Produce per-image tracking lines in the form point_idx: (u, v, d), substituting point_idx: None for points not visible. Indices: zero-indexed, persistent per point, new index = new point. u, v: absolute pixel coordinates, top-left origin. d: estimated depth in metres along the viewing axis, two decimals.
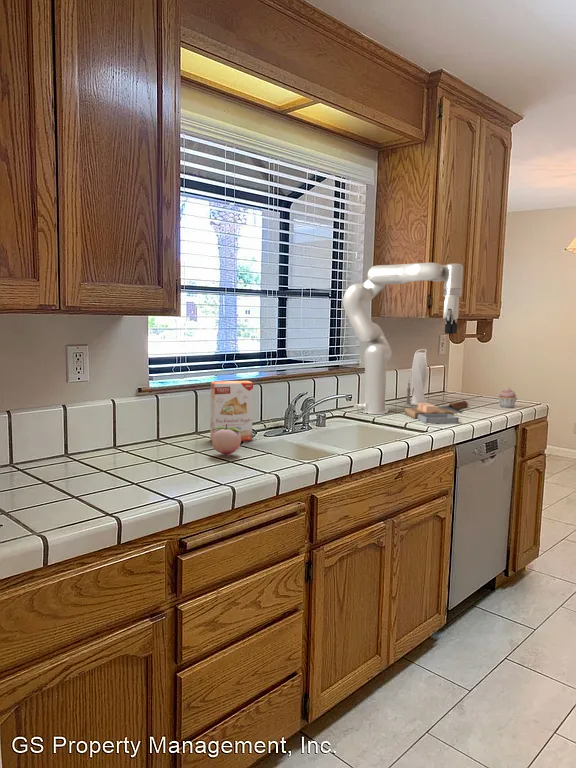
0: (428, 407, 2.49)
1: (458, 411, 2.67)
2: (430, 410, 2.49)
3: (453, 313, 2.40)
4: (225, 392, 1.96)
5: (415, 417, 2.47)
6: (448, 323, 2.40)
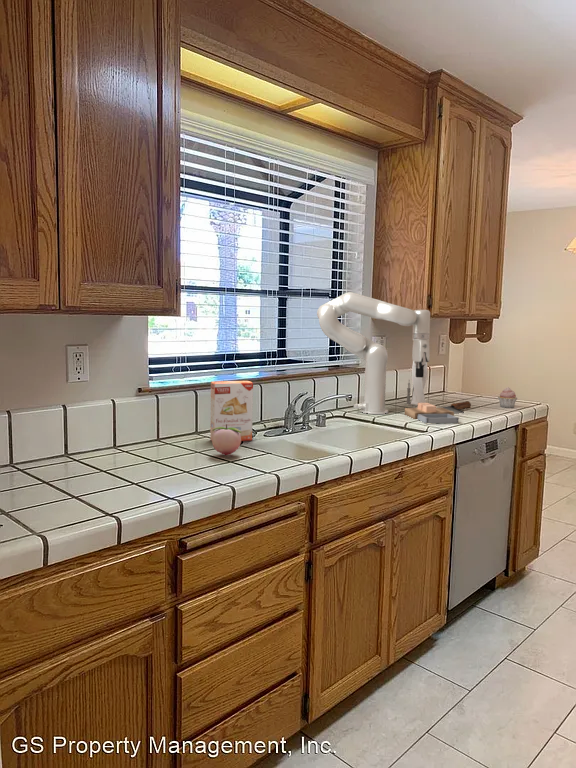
0: (428, 407, 2.49)
1: (460, 411, 2.67)
2: (430, 410, 2.49)
3: None
4: (225, 392, 1.96)
5: (415, 417, 2.47)
6: None
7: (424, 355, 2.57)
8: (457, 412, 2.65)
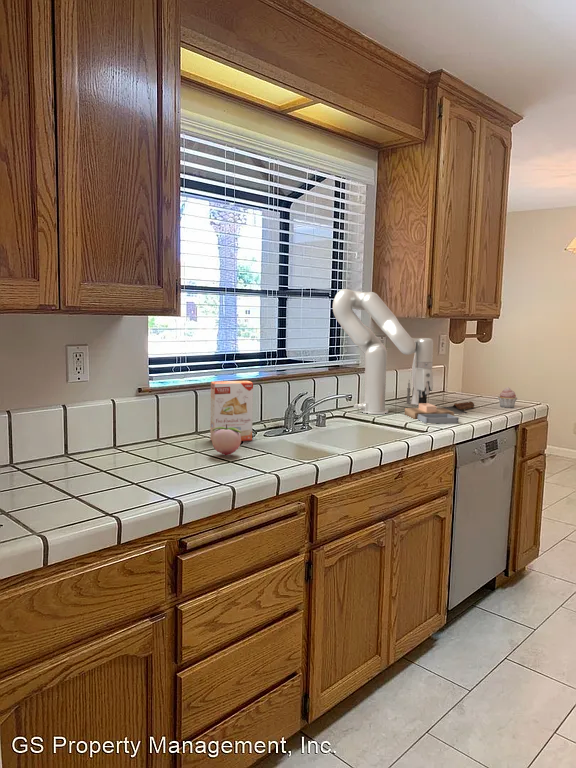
0: (428, 407, 2.49)
1: (461, 411, 2.67)
2: (430, 410, 2.49)
3: None
4: (225, 392, 1.96)
5: (415, 417, 2.47)
6: None
7: (427, 384, 2.54)
8: (458, 412, 2.65)
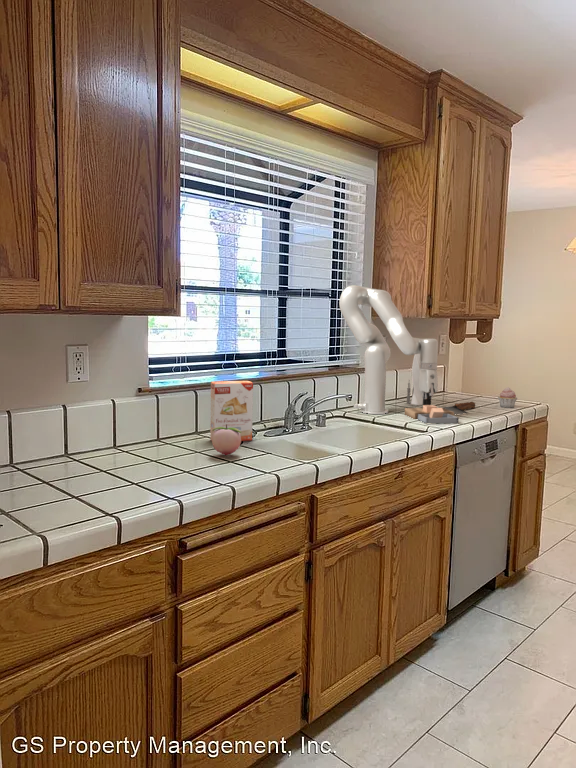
0: None
1: (462, 411, 2.66)
2: None
3: None
4: (225, 392, 1.96)
5: (415, 417, 2.47)
6: None
7: (432, 386, 2.49)
8: (459, 412, 2.65)
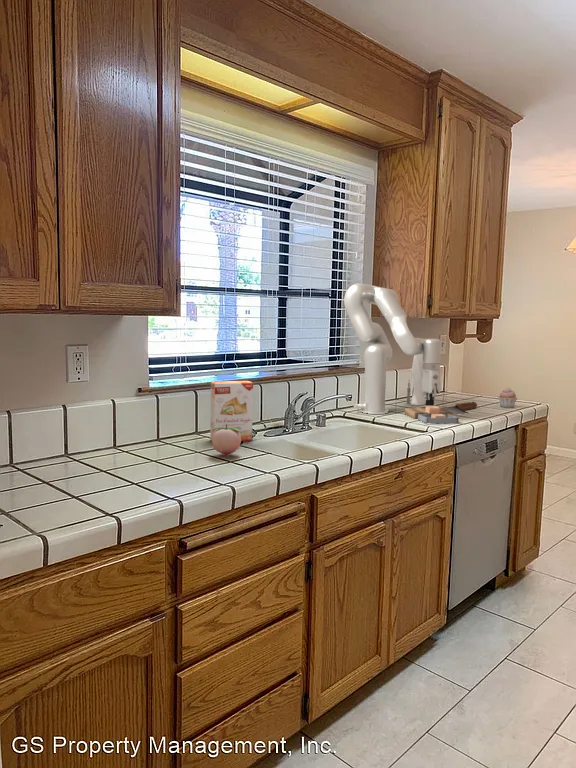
0: None
1: (462, 412, 2.66)
2: None
3: None
4: (225, 392, 1.96)
5: (415, 417, 2.47)
6: None
7: (435, 386, 2.46)
8: (460, 412, 2.64)
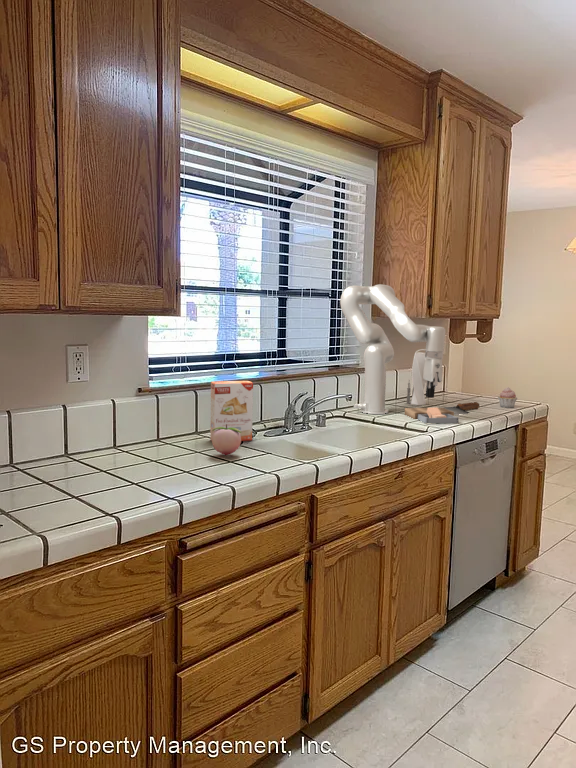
0: None
1: (464, 412, 2.66)
2: None
3: None
4: (225, 392, 1.96)
5: (415, 417, 2.47)
6: None
7: (436, 375, 2.43)
8: (461, 412, 2.64)
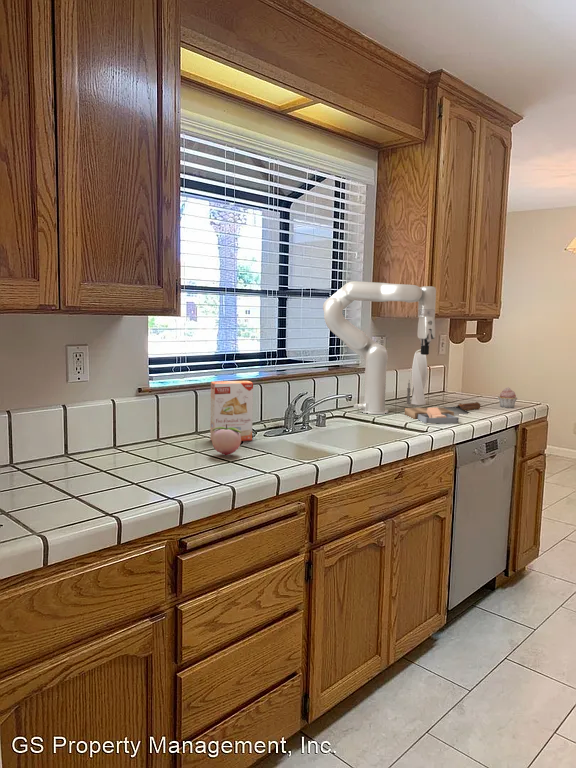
0: None
1: (464, 412, 2.65)
2: None
3: None
4: (225, 392, 1.96)
5: (415, 417, 2.47)
6: None
7: (429, 332, 2.56)
8: (461, 413, 2.64)
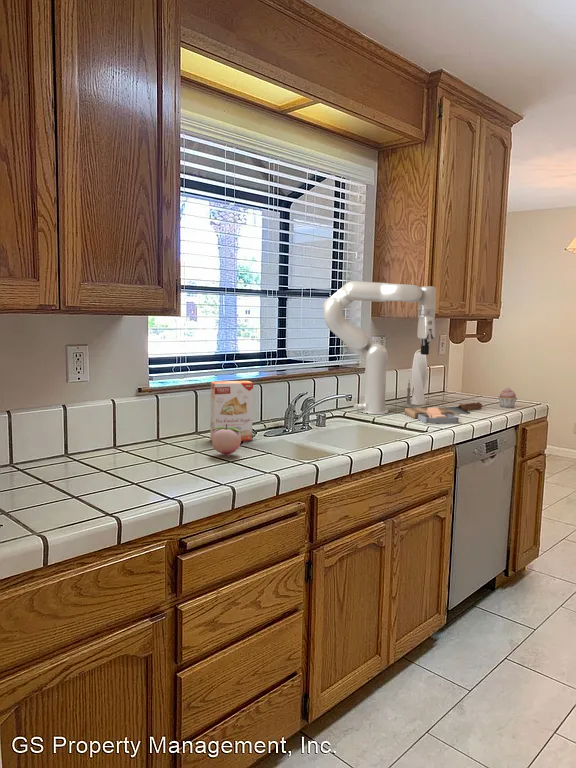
0: None
1: (465, 412, 2.65)
2: None
3: None
4: (225, 392, 1.96)
5: (415, 417, 2.47)
6: None
7: (429, 332, 2.56)
8: (462, 413, 2.64)
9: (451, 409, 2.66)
